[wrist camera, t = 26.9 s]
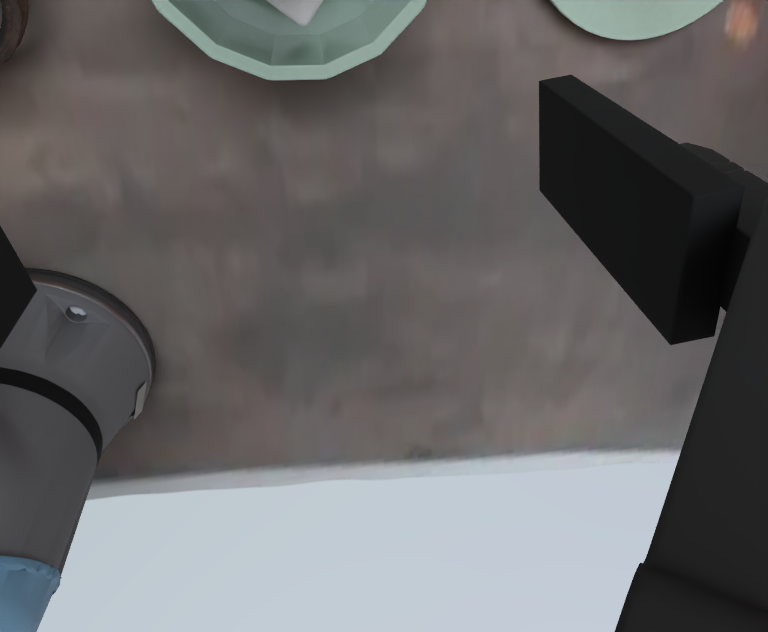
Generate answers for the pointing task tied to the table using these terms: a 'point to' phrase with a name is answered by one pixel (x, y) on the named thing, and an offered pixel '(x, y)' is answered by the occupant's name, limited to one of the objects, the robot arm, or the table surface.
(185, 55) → the table surface
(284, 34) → the basin
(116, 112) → the table surface
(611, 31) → the basin lid
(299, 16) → the medicine bottle
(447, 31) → the table surface
